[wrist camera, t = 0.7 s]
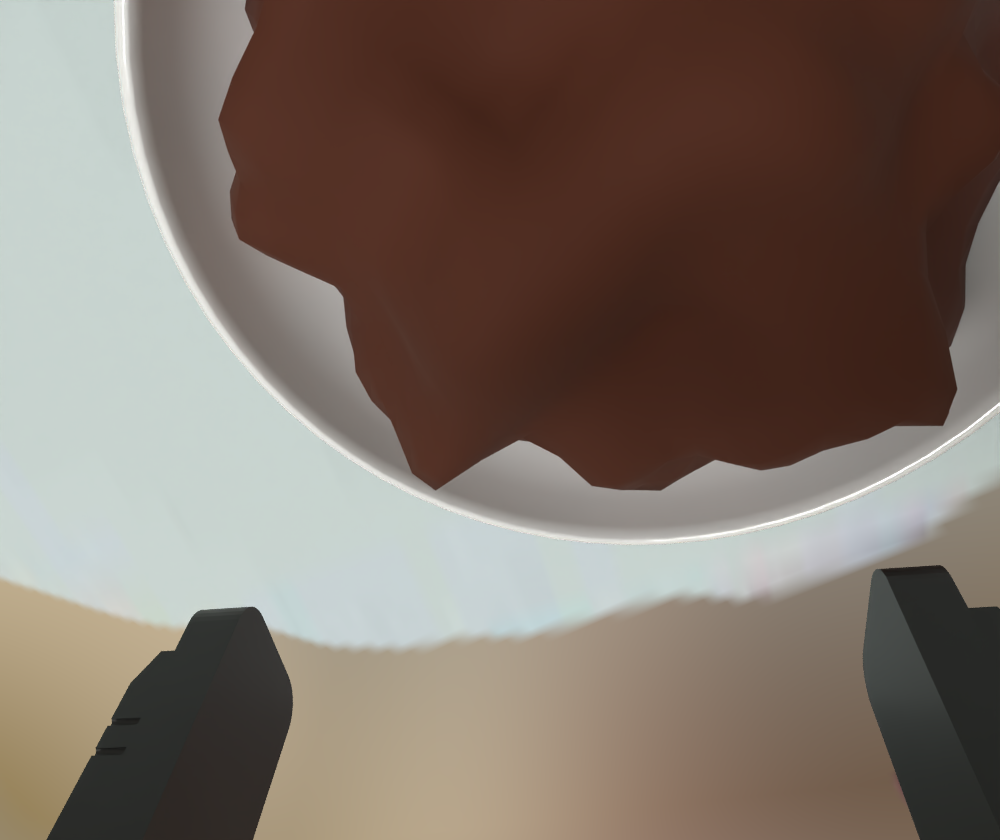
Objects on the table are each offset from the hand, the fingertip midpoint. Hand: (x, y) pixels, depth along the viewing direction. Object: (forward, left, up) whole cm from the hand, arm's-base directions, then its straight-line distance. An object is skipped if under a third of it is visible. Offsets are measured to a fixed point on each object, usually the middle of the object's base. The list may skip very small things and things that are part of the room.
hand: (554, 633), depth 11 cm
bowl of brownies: (-2, 0, -22) cm, 22 cm away
